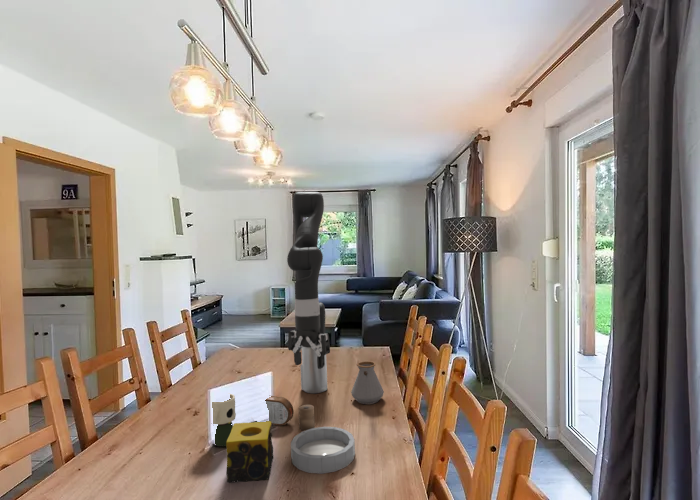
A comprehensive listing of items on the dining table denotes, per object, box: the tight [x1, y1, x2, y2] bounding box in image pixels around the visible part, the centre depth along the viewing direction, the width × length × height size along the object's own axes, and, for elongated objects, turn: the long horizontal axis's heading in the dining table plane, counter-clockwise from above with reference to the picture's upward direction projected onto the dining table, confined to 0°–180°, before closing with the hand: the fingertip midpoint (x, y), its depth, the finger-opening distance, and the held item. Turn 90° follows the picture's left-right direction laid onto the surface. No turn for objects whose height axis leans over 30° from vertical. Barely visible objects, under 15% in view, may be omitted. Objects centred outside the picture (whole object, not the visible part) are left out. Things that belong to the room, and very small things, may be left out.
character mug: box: [212, 393, 237, 447], centre depth 113 cm, size 11×7×13 cm, turn 177°
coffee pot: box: [350, 360, 385, 405], centre depth 136 cm, size 21×12×15 cm, turn 176°
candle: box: [225, 421, 274, 484], centre depth 99 cm, size 10×10×10 cm
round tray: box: [290, 426, 356, 474], centre depth 105 cm, size 16×16×4 cm
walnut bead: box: [298, 404, 316, 432], centre depth 122 cm, size 5×5×6 cm
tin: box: [265, 395, 295, 427], centre depth 125 cm, size 15×3×8 cm, turn 71°
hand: (309, 366), depth 121 cm, fingers open, 8 cm apart
